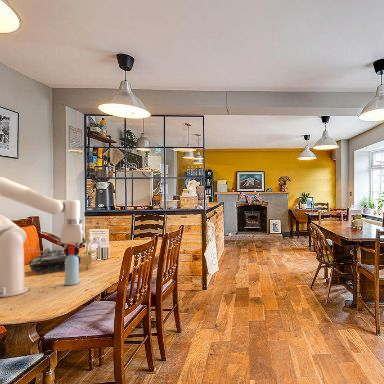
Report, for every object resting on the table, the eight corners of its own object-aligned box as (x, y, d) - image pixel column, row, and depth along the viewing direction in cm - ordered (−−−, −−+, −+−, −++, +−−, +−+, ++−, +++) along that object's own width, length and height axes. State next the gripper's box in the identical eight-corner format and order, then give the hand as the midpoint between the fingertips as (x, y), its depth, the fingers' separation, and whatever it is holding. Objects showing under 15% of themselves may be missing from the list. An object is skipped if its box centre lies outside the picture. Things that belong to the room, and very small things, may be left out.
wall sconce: (94, 270, 182) (94, 231, 181) (77, 272, 179) (77, 232, 178) (99, 265, 195) (98, 228, 195) (83, 266, 192) (82, 229, 191)
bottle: (69, 285, 152) (70, 249, 152) (62, 284, 155) (62, 248, 155) (81, 282, 158) (81, 247, 158) (73, 280, 161) (73, 246, 161)
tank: (24, 271, 180) (24, 248, 180) (80, 263, 201) (79, 242, 201) (25, 277, 168) (25, 252, 168) (85, 267, 189) (84, 245, 189)
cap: (76, 252, 159) (76, 245, 159) (75, 254, 155) (75, 247, 155) (68, 253, 158) (68, 246, 157) (66, 254, 154) (66, 247, 154)
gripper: (90, 220, 163) (90, 252, 163) (56, 221, 157) (55, 255, 157) (88, 222, 156) (88, 255, 156) (52, 223, 150) (51, 258, 150)
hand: (71, 255), depth 156 cm, fingers closed on cap, 3 cm apart
